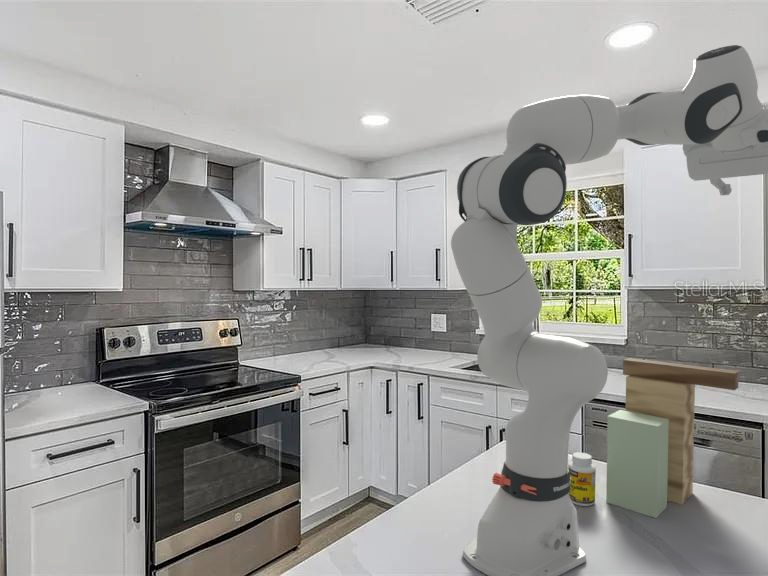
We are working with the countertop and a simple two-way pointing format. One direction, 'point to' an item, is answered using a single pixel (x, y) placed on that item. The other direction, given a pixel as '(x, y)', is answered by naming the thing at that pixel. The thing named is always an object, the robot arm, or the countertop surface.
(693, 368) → the batten
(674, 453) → the stand
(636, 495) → the block
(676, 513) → the countertop surface
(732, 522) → the countertop surface
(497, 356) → the robot arm
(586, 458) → the supplement bottle
